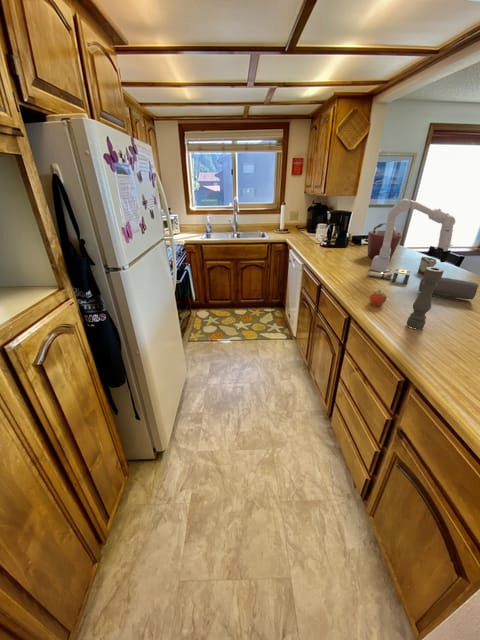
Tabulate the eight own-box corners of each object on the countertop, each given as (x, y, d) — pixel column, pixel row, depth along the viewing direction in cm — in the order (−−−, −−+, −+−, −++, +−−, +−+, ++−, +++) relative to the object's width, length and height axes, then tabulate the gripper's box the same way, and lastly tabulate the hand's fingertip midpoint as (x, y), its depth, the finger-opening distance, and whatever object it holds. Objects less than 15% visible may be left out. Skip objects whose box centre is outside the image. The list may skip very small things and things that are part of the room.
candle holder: (402, 323, 114) (421, 266, 102) (416, 322, 114) (436, 266, 102) (412, 330, 108) (433, 272, 96) (426, 329, 109) (449, 271, 97)
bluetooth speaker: (468, 298, 136) (476, 279, 131) (471, 304, 129) (480, 285, 124) (417, 289, 146) (423, 272, 142) (417, 295, 139) (423, 277, 135)
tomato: (383, 309, 125) (387, 293, 122) (366, 306, 129) (370, 290, 125) (385, 303, 131) (389, 288, 127) (369, 300, 134) (372, 286, 131)
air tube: (367, 276, 166) (368, 271, 165) (368, 275, 169) (369, 270, 167) (390, 280, 160) (391, 275, 159) (390, 278, 162) (392, 273, 161)
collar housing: (391, 281, 158) (394, 272, 155) (393, 277, 164) (395, 268, 161) (406, 284, 154) (410, 274, 151) (407, 279, 160) (410, 270, 157)
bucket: (361, 253, 216) (367, 221, 204) (389, 253, 213) (398, 221, 201) (369, 261, 195) (377, 226, 183) (401, 262, 192) (411, 226, 180)
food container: (435, 278, 162) (441, 262, 157) (424, 277, 163) (429, 261, 158) (427, 272, 173) (432, 257, 168) (416, 271, 174) (421, 256, 169)
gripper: (456, 239, 146) (452, 263, 151) (451, 234, 157) (447, 257, 163) (440, 240, 149) (437, 263, 155) (437, 235, 160) (433, 257, 166)
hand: (441, 260), depth 159 cm, fingers open, 7 cm apart
